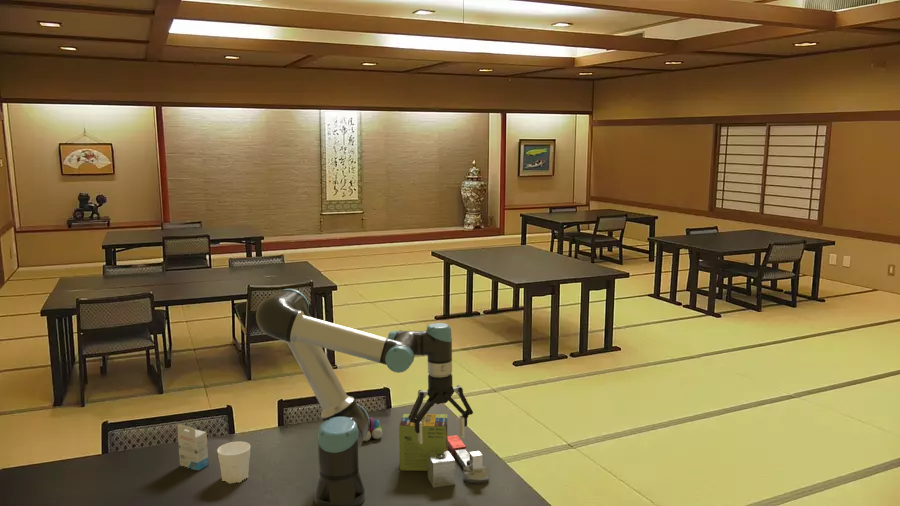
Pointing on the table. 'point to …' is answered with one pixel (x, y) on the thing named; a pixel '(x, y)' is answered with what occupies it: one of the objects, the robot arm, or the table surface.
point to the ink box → (192, 447)
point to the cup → (234, 461)
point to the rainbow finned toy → (373, 430)
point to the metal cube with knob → (441, 469)
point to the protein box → (433, 441)
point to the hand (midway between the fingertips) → (441, 439)
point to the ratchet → (468, 461)
